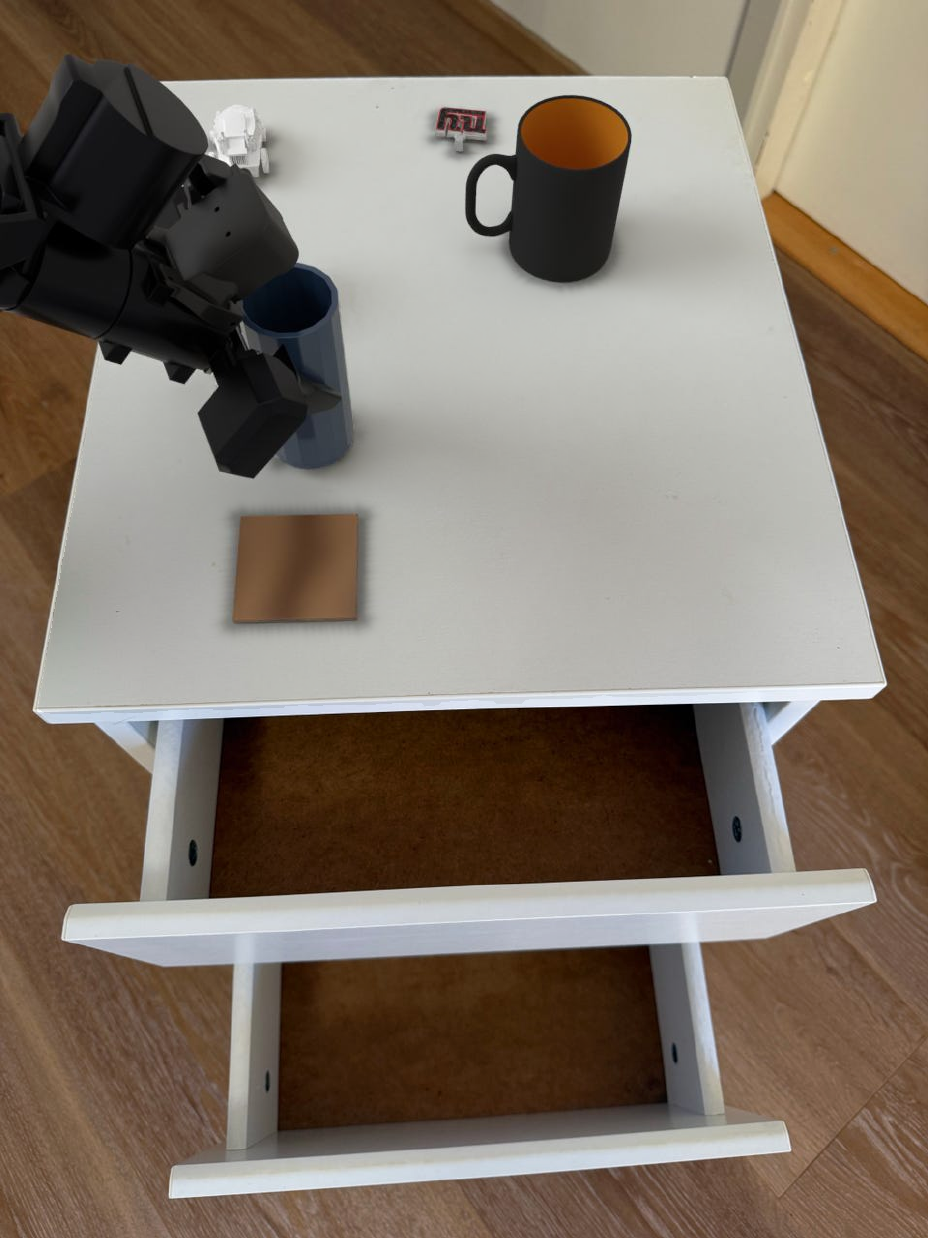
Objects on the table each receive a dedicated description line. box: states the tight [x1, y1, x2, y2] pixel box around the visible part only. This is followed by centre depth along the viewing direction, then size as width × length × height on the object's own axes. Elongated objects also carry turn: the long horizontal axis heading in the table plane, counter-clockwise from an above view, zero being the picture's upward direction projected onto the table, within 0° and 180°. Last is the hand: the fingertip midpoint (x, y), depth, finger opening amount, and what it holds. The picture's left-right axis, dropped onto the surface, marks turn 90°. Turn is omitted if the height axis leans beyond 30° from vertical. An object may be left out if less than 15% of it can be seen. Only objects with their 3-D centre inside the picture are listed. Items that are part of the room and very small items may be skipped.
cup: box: [236, 262, 355, 470], centre depth 64 cm, size 6×6×13 cm
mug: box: [464, 94, 633, 283], centre depth 75 cm, size 8×12×10 cm
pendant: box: [434, 106, 488, 152], centre depth 85 cm, size 4×1×5 cm
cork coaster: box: [231, 513, 359, 624], centre depth 65 cm, size 8×8×1 cm
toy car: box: [207, 104, 270, 178], centre depth 82 cm, size 5×8×4 cm, turn 8°
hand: (320, 366), depth 64 cm, fingers closed on cup, 6 cm apart
